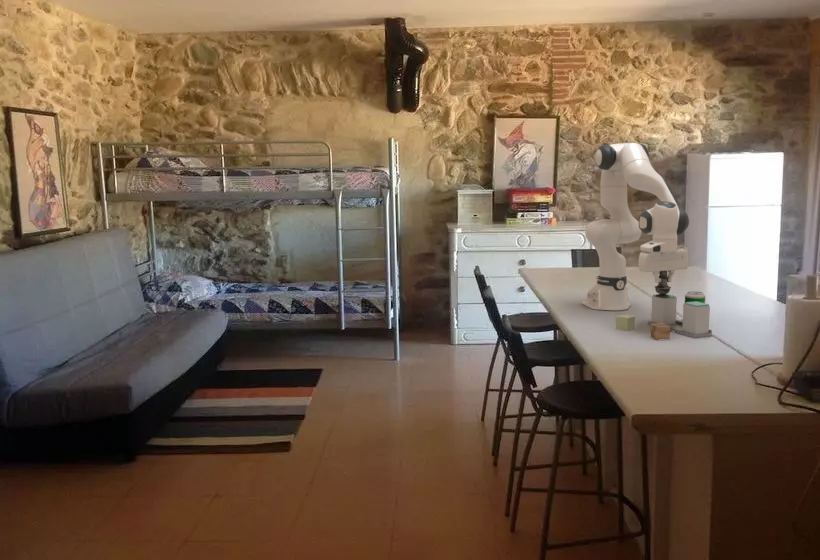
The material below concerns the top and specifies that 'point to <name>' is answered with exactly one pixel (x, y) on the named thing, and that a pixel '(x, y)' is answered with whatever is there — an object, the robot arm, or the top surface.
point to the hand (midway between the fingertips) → (663, 282)
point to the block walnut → (660, 331)
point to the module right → (696, 317)
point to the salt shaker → (662, 286)
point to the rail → (678, 328)
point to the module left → (664, 309)
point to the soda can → (695, 297)
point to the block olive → (625, 322)
